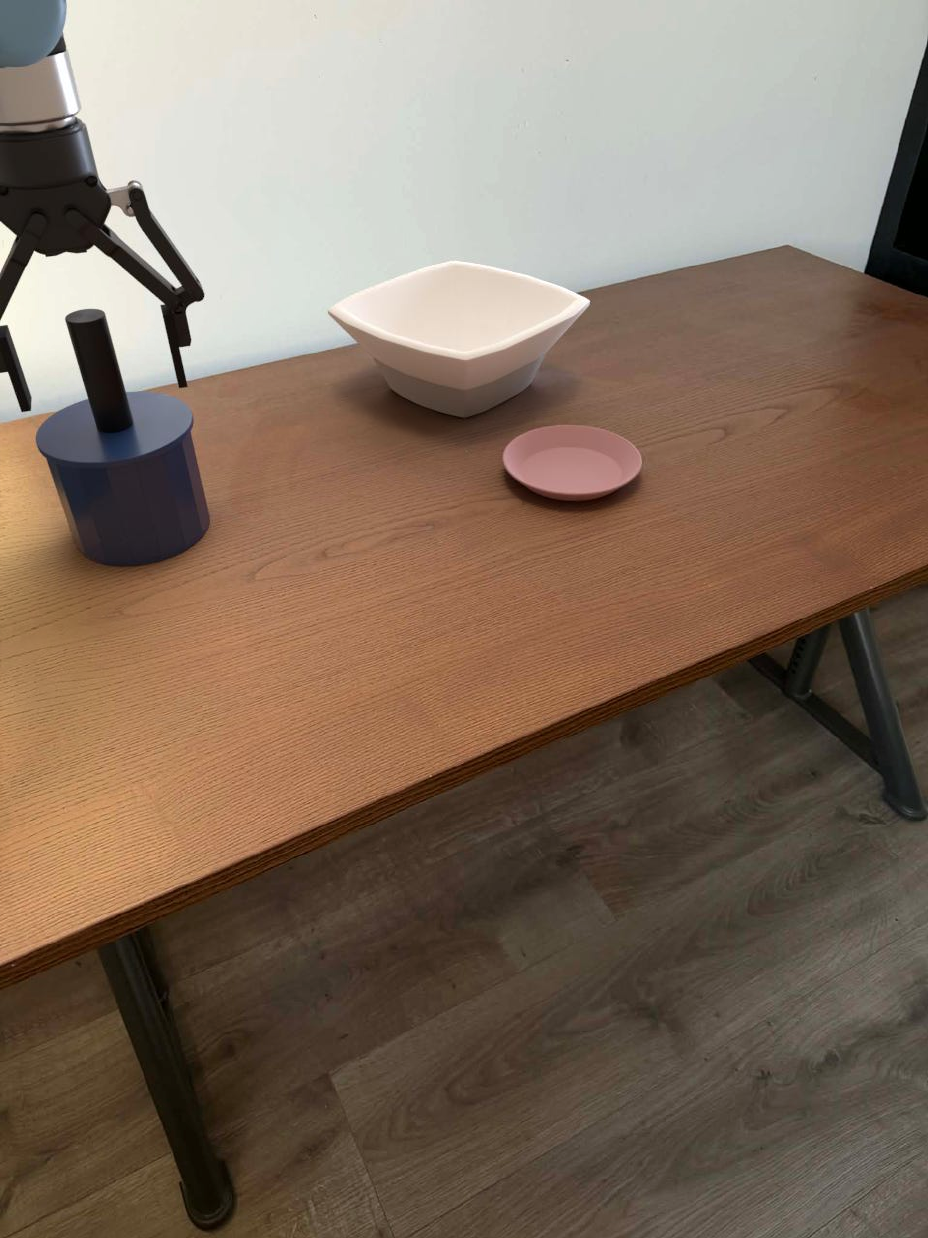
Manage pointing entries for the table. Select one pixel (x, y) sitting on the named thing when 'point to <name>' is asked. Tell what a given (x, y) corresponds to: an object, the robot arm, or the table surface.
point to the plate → (572, 462)
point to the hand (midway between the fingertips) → (105, 393)
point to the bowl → (459, 332)
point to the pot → (135, 507)
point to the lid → (109, 409)
